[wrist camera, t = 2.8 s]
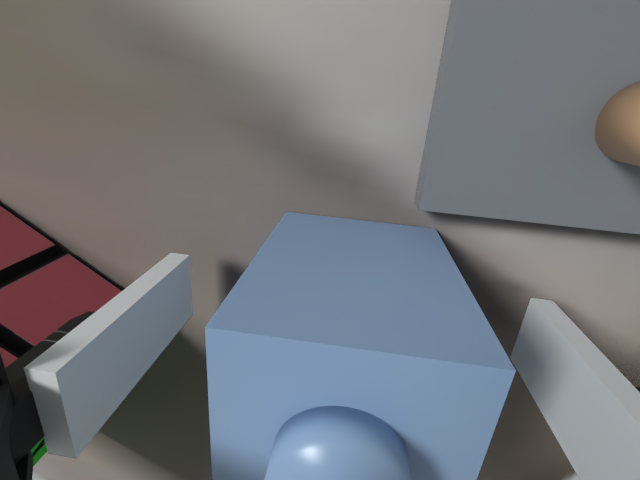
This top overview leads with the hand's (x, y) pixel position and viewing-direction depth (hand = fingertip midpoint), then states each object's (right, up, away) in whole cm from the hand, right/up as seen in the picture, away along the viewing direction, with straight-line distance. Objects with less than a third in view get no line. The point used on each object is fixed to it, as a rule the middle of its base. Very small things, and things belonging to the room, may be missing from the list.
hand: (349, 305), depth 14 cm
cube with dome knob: (0, +1, +1) cm, 2 cm away
